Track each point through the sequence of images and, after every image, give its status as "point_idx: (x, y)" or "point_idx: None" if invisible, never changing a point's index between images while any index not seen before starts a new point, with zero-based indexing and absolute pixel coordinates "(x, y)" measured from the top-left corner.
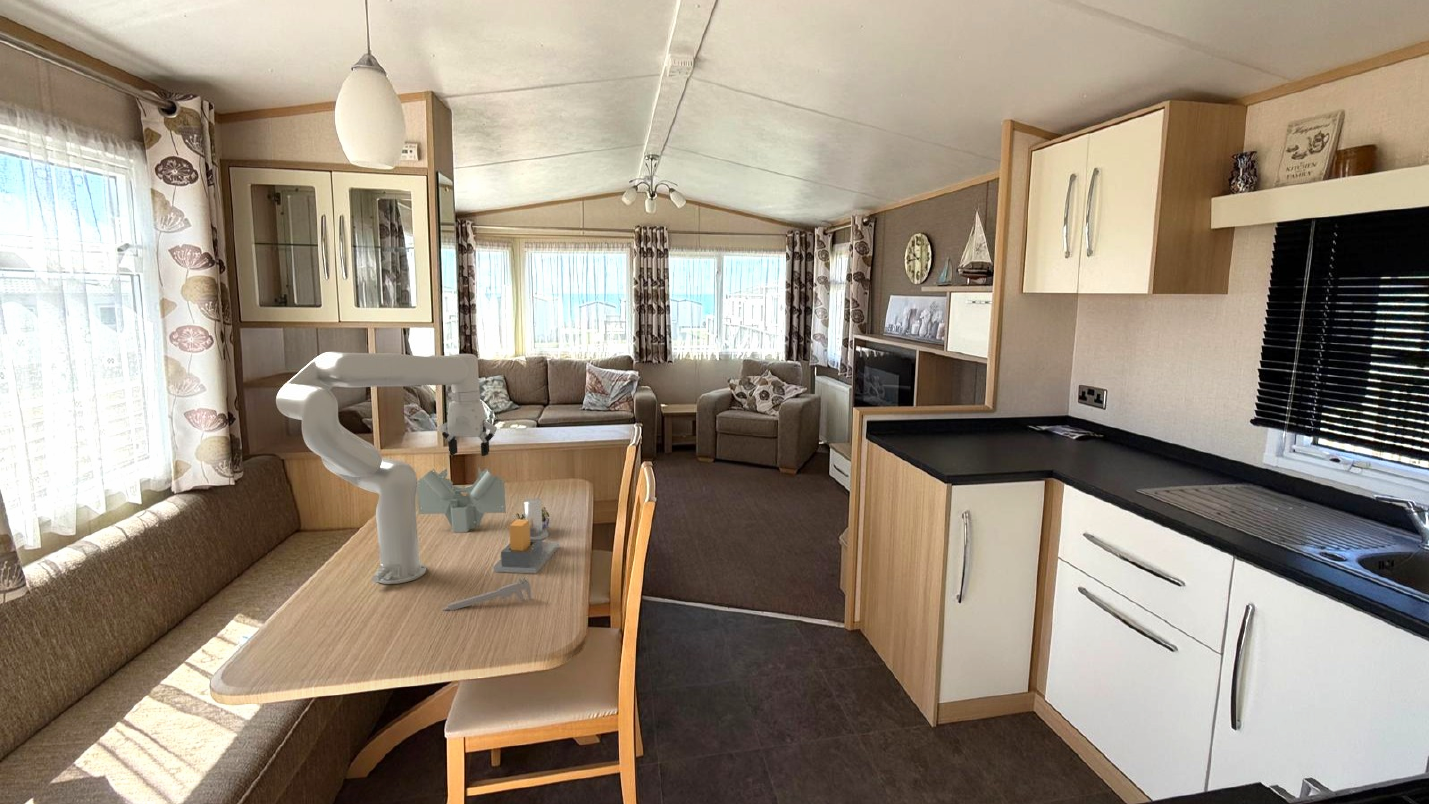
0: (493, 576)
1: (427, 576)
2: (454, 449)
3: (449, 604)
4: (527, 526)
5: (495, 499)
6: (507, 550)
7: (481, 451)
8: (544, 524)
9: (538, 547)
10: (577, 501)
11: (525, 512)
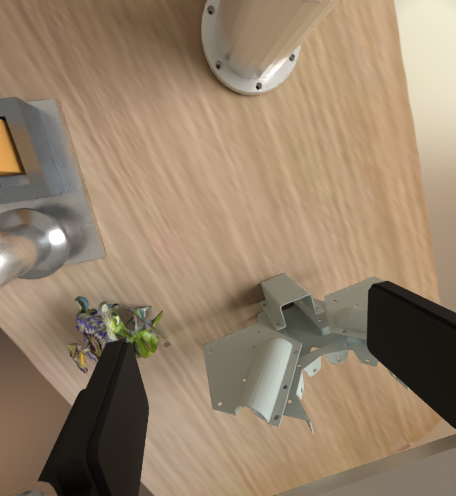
0: (40, 76)
1: (190, 44)
2: (394, 333)
3: None
4: None
5: (229, 358)
6: (4, 111)
7: (117, 365)
8: (78, 327)
9: None
10: (152, 480)
11: None
